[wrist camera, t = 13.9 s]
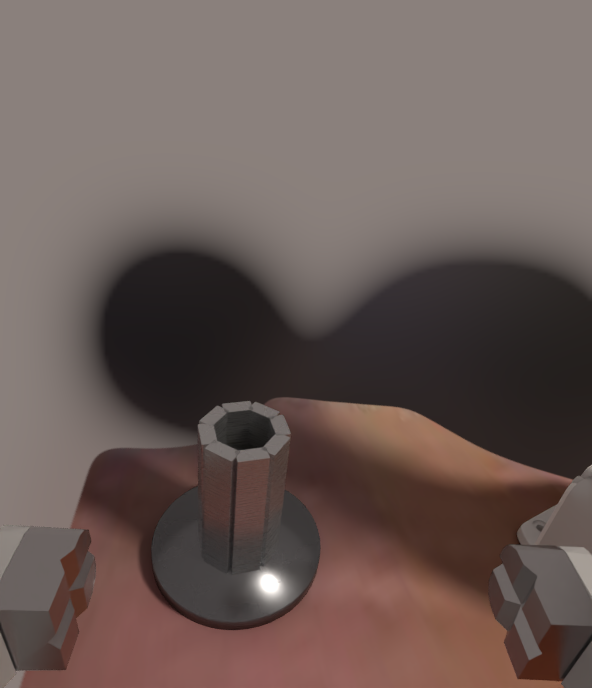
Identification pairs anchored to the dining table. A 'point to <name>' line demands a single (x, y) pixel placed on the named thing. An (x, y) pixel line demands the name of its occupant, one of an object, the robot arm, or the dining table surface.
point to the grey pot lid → (226, 589)
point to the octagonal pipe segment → (241, 485)
